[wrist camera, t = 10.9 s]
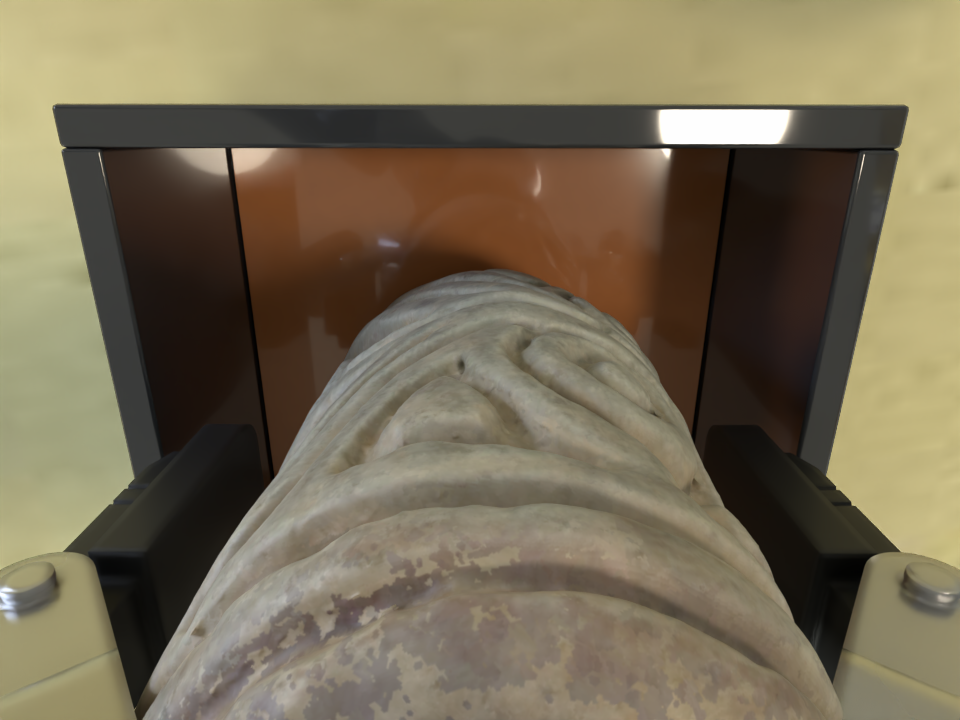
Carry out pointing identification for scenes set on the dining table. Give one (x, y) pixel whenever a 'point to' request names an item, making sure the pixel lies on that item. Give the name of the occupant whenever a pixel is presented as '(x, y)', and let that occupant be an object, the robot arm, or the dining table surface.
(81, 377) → the dining table surface
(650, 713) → the carving
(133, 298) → the storage box with compartments
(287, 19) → the dining table surface
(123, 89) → the dining table surface
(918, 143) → the dining table surface
